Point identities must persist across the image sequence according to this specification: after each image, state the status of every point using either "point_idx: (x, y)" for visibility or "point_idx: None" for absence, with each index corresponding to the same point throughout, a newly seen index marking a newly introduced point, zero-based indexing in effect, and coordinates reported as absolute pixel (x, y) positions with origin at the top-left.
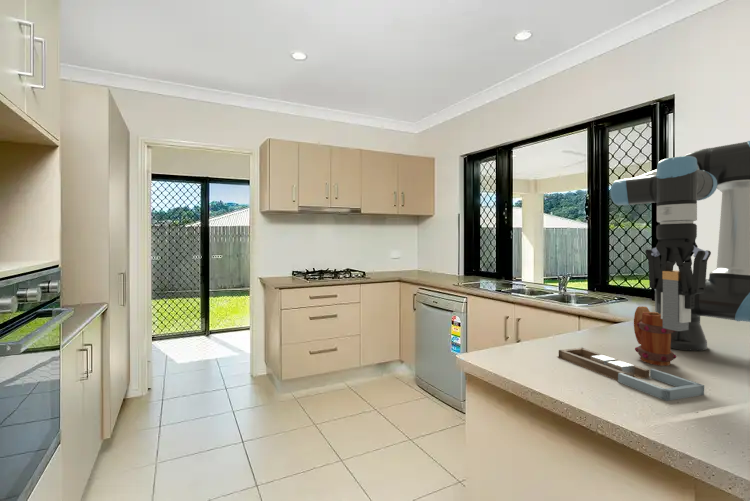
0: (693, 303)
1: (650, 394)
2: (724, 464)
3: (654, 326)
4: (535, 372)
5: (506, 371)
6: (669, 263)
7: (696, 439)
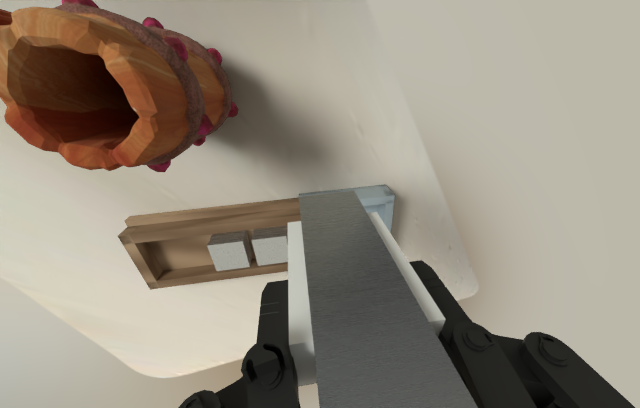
0: (440, 288)
1: None
2: (468, 291)
3: (178, 154)
4: (235, 325)
5: (228, 350)
6: None
7: None
